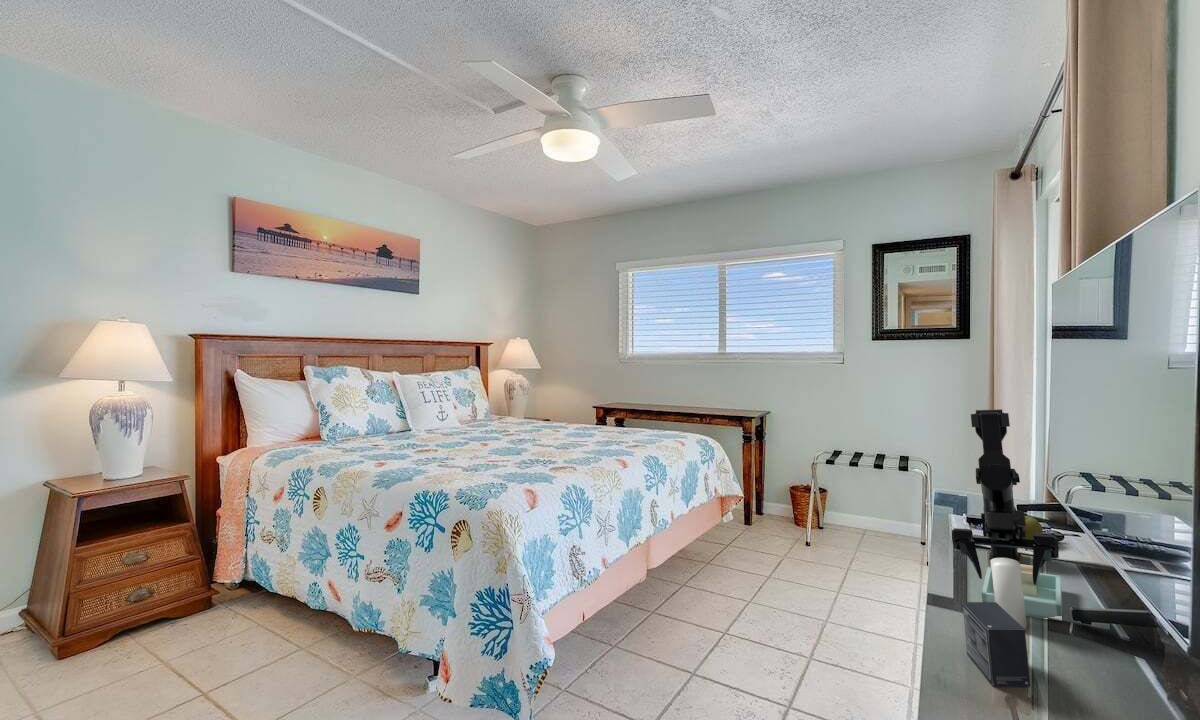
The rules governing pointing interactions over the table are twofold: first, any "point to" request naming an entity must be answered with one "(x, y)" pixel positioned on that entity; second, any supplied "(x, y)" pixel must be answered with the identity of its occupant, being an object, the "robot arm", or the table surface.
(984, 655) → the small box
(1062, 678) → the table surface
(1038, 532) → the apple
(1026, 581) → the cube
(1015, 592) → the white tapered cylinder
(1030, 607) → the tote
